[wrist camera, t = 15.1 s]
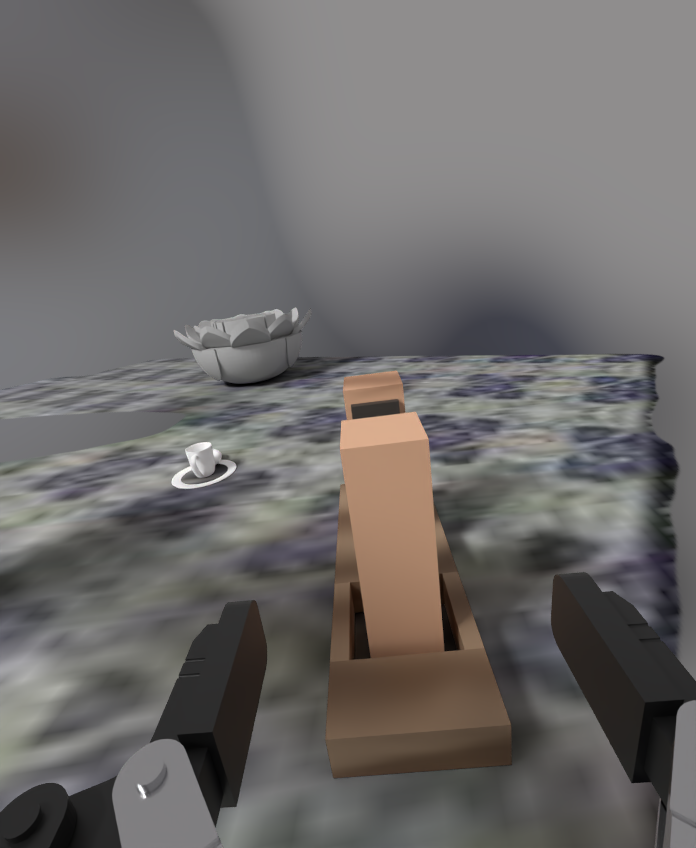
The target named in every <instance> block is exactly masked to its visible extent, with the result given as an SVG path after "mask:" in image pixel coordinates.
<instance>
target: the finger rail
mask: <svg viewBox="0 0 696 848" xmlns="http://www.w3.org/2000/svg"><path fill="white" fill-rule="evenodd" d="M343 394H344V401H345V408H346V415H347V420H353V419H361V418H369V417H377V416H385V415H394V414H402V413H405V405H404V394H403V384H402V381H401V379H400V377H399V375H398V372H397V371H391V372H383V373H375V374H367V375H359V376H351V377H344V387H343ZM433 506H434V519H435V532H436V546H437V559H438V573H439V586H440V599H441V605H442V604H444V605H445V608H446V612H447V616H448V619H449V623H450V626H451V630H452V634H453V637H454V641H455V645H456V648H457V650H456V651H445V652H434V653H423V654H412V655H401V656H390V657H379V658H368V659H357V660H355V613H359V612H364V608H363V601H362V595H361V588H360V581H359V574H358V568H357V561H356V554H355V547H354V541H353V534H352V527H351V520H350V514H349V507H348V500H347V493H346V487H345V484H342V485H340V502H339V519H338V536H337V552H336V569H335V586H334V603H333V620H332V636H331V653H330V670H329V687H328V704H327V720H326V737H325V741H326V745H327V750H328V755H329V760H330V764H331V769H332V774H333V778H343V777H356V776H370V775H383V774H396V773H409V772H422V771H436V770H449V769H462V768H475V767H488V766H502V765H512V759H511V723H510V720H509V717H508V714H507V711H506V709H505V706H504V703H503V700H502V697H501V694H500V691H499V688H498V686H497V683H496V680H495V677H494V674H493V671H492V668H491V666H490V663H489V660H488V657H487V654H486V651H485V648H484V645H483V643H482V640H481V637H480V634H479V631H478V628H477V625H476V622H475V620H474V617H473V614H472V611H471V608H470V605H469V602H468V600H467V597H466V594H465V591H464V588H463V585H462V582H461V579H460V577H459V574H458V571H457V568H456V565H455V562H454V559H453V556H452V554H451V551H450V548H449V545H448V542H447V539H446V536H445V533H444V531H443V528H442V525H441V522H440V519H439V516H438V513H437V511H436V508H435V505H434V502H433Z"/></svg>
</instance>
